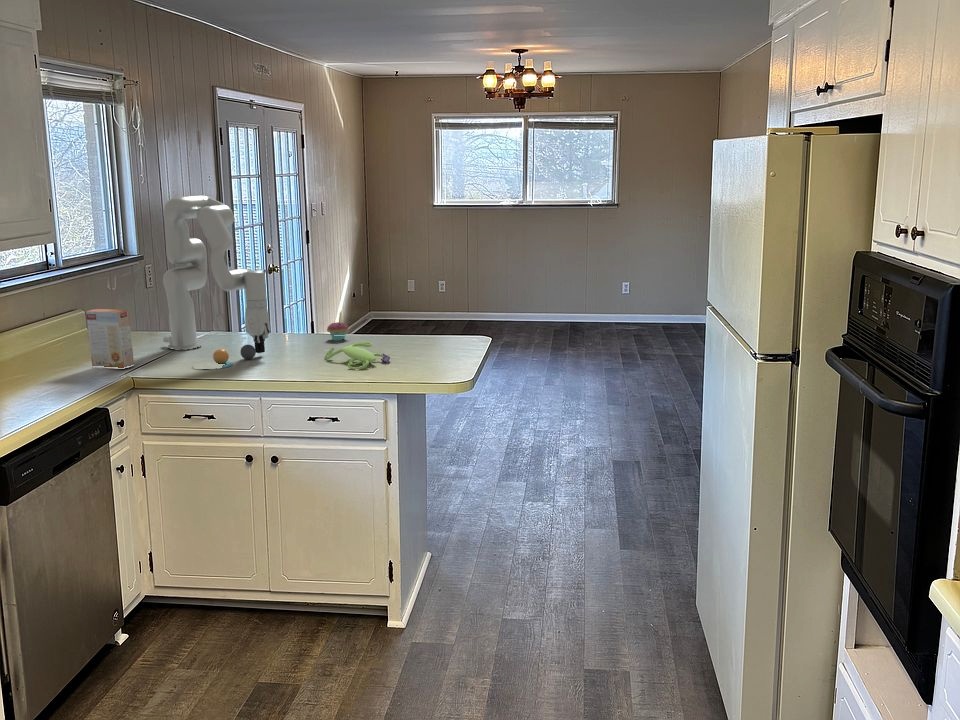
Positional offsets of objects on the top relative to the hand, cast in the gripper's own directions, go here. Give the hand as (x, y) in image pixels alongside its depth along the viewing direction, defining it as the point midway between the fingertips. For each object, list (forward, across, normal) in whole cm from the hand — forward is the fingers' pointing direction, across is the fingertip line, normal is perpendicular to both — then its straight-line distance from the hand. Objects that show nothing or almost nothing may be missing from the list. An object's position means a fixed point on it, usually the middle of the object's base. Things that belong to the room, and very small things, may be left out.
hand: (260, 352), depth 331 cm
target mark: (+2, 0, -20) cm, 20 cm away
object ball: (-1, 0, -16) cm, 16 cm away
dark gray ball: (-1, +1, -6) cm, 6 cm away
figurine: (+2, +35, +18) cm, 39 cm away
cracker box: (+2, -26, -44) cm, 51 cm away
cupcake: (+2, -2, +39) cm, 39 cm away
